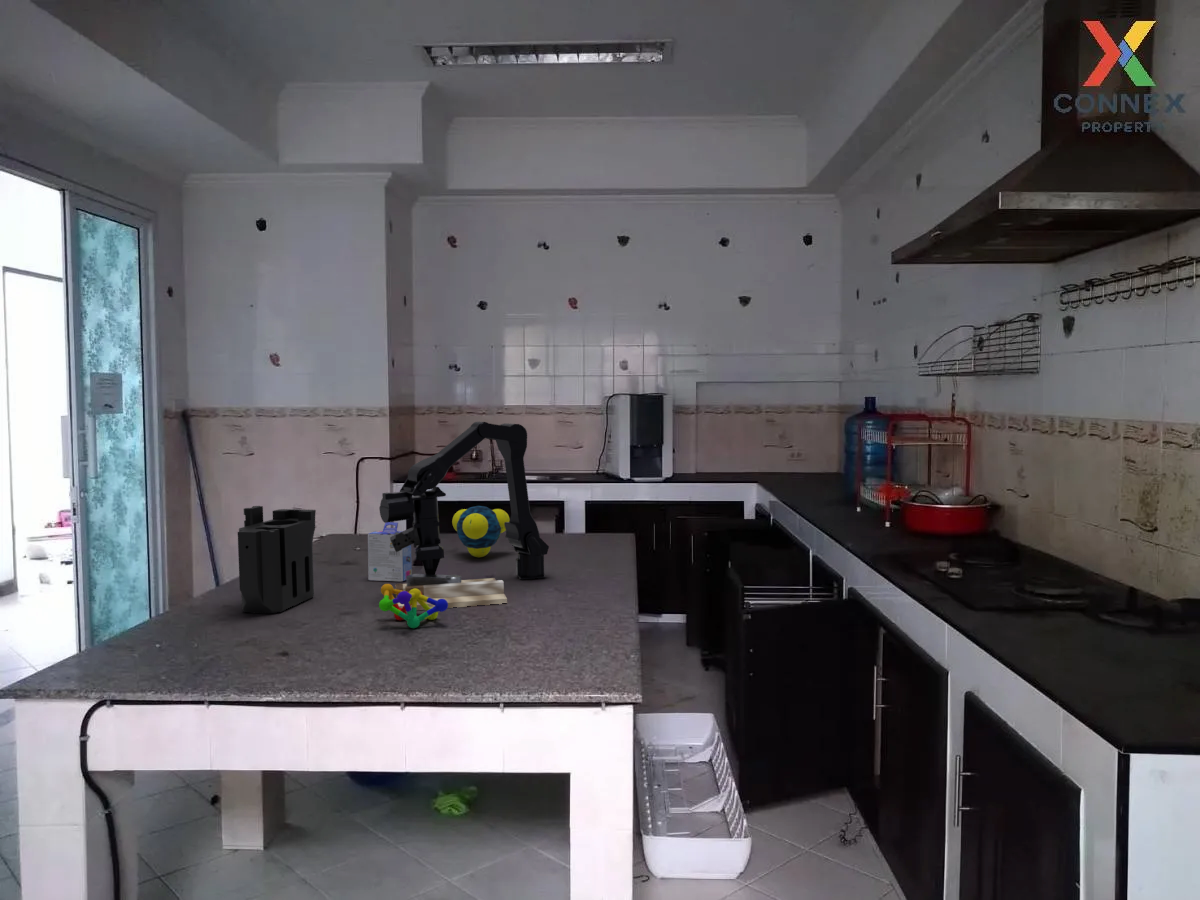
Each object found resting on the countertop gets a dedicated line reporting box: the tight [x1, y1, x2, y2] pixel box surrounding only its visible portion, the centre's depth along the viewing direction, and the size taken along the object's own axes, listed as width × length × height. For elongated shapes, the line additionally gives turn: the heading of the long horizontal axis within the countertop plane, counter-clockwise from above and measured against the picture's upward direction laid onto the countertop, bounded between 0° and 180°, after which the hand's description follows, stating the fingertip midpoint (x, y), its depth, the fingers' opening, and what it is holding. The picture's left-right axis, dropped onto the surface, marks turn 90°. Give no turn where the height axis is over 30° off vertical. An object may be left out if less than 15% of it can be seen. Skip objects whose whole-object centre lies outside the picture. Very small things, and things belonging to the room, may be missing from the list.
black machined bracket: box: [237, 505, 317, 614], centre depth 188 cm, size 12×21×22 cm, turn 169°
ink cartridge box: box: [367, 521, 413, 582], centre depth 214 cm, size 10×6×14 cm, turn 78°
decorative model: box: [378, 583, 449, 629], centre depth 173 cm, size 13×9×15 cm
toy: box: [451, 505, 511, 558], centre depth 241 cm, size 16×17×15 cm
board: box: [394, 577, 508, 611], centre depth 196 cm, size 24×22×4 cm
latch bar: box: [406, 573, 462, 586], centre depth 196 cm, size 13×4×3 cm, turn 78°
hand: (430, 581), depth 200 cm, fingers closed
